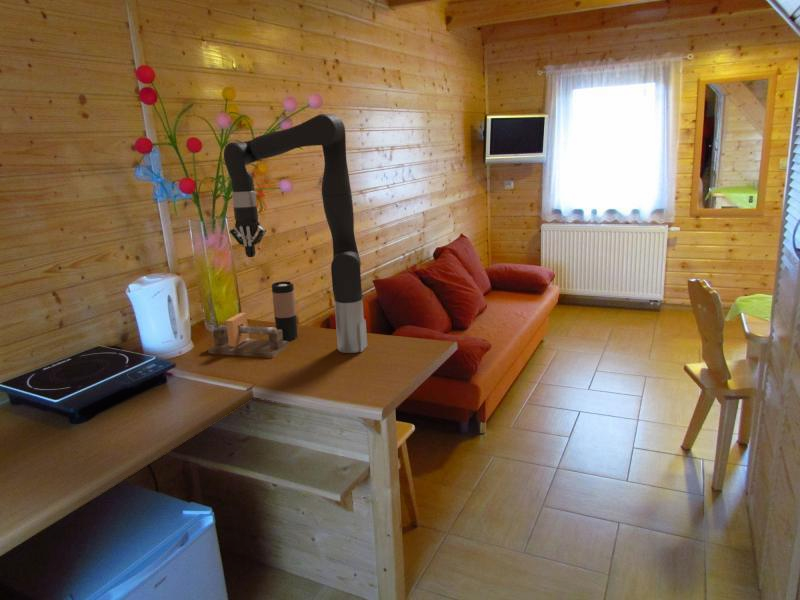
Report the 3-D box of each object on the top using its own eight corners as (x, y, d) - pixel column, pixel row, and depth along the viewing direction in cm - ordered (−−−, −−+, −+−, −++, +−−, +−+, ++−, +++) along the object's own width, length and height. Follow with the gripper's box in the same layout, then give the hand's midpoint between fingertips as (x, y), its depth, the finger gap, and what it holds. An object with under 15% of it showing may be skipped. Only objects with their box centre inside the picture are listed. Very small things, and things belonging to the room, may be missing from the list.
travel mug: (273, 341, 200) (267, 286, 194) (281, 334, 207) (276, 281, 202) (294, 341, 199) (288, 286, 193) (301, 334, 206) (296, 281, 200)
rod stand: (289, 345, 195) (287, 322, 193) (273, 357, 184) (270, 333, 182) (228, 341, 202) (225, 319, 199) (208, 353, 190) (205, 330, 188)
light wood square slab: (249, 337, 197) (246, 312, 195) (235, 346, 189) (232, 320, 186) (243, 337, 198) (240, 312, 195) (229, 346, 189) (225, 320, 187)
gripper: (268, 203, 187) (273, 255, 192) (233, 204, 190) (239, 254, 195) (257, 206, 180) (263, 259, 185) (221, 206, 183) (227, 258, 188)
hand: (250, 256), depth 190 cm, fingers closed
